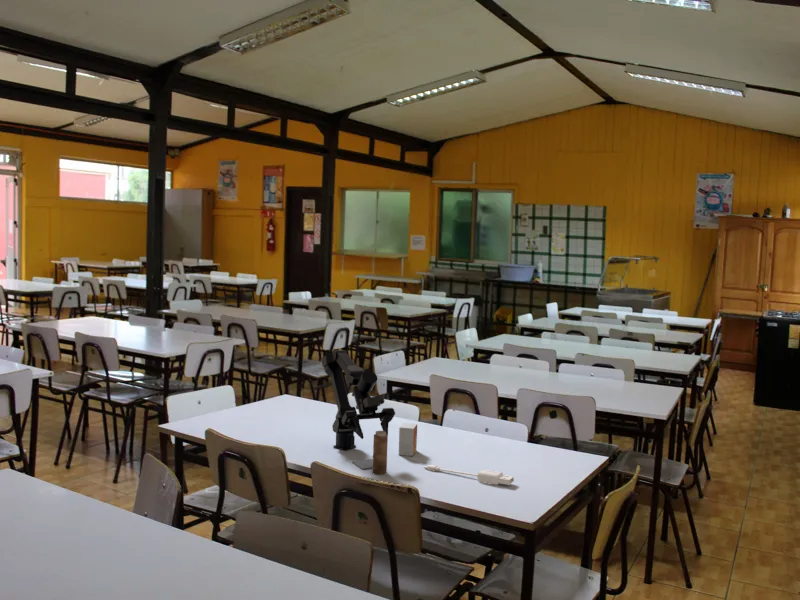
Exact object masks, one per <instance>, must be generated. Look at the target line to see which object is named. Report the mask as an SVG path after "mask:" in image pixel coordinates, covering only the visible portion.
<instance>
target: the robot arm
mask: <svg viewBox="0 0 800 600" xmlns="http://www.w3.org/2000/svg"><path fill="white" fill-rule="evenodd" d="M321 365H322V367H323V370H324V373H325V374H327V376H328V377H329V378H330V380H331V381H330V382H331V386H332V389H333V393H334V398H335V403H336V406H337V412H336V415H335V419H334V421H333V424H331V425H332V431H333V432H334V433H335V445H333V448H335V449H340V450H344V451H348V450H351V449H354V448H356V446H357V445H356V444H355V434H356V435H357V436H358V437H360V439H361V440H363V439H364V432H363V429H362V427H361V424H360V421H361V420H372V419H373V420H374V419H379V421H380V423H379V424H380V426H381V429H382V431H385V432H386V435H388V436H389V423H390V422H392V420H393V419H394V417H395V415H396V411H395V409H394V408H393V407H384V408H382V410H381V411H380V412H376V411H378V410H379V408H378V407H380V406H381V405H383V404H385V397H384V395H383V394H378V395H376V396H371V394H370V393H371V392H372V390H373V388H374V386H375V384H376V383H377V381H378V375H377V374H376V373H375V372H373V371H371V370H370V368H363V367H359V366H357V365H356V363H355V362H354V361H353V360H352V359H351V357H350V356H349V355H348V351H347V350H344V349H341V350H339V349H337V350H336V349H335V350H333V351H332V352H331V353H328V354H326V355H324V356H323V357H322V359H321ZM343 373H344V374H345V378H344V376H343ZM344 379H345V380H344ZM345 382H346V384H347V385H348V386H349V387H351V386H352V387H353V389H352V392H351V396H352V397H354V400H355V404H356V406H351V405H350V400H349V396H348V393H347V392H348V391H347V388H346V384H345ZM357 410H358V412H357Z"/></svg>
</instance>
